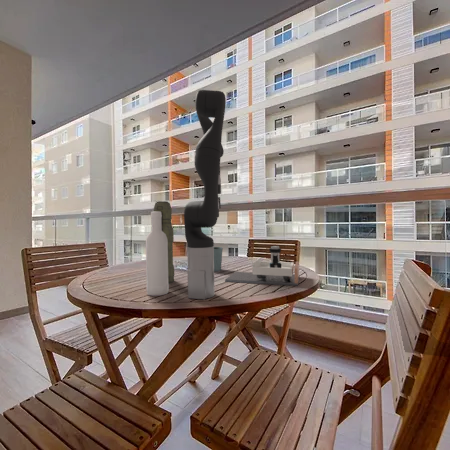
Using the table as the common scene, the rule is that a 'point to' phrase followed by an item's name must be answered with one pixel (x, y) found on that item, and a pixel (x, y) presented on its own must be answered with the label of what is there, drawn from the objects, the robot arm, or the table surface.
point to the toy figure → (275, 257)
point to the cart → (272, 269)
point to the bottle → (157, 258)
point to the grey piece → (265, 278)
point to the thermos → (167, 233)
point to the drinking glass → (217, 258)
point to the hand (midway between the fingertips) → (213, 217)
